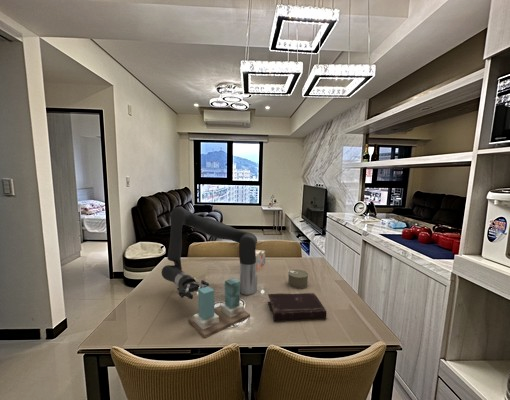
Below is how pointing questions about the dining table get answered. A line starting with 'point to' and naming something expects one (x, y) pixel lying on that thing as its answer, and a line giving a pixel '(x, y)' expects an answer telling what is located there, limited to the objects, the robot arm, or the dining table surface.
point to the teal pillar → (206, 302)
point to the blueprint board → (222, 312)
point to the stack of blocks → (259, 259)
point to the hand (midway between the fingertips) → (200, 294)
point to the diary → (296, 307)
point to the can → (297, 278)
